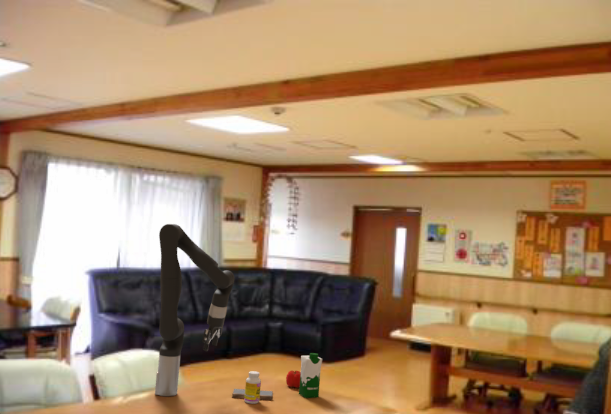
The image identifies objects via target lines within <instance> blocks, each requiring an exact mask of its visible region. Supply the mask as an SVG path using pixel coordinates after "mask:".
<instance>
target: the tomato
mask: <svg viewBox="0 0 611 414" xmlns="http://www.w3.org/2000/svg"><path fill="white" fill-rule="evenodd" d="M300 375H301V370H289V371H288V373H287V374H286V377H285V383H286V385H287V386H288V387H289V388H295V389H297V388H299V387H300Z"/></svg>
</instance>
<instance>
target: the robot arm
mask: <svg viewBox="0 0 611 414" xmlns="http://www.w3.org/2000/svg"><path fill="white" fill-rule="evenodd" d="M158 236H159V237H158V238H159V245H160V246H159V247H160V304H161V305H160V316H159V317H160V318H159V327H158V328H159V329H158V330H159V335H160V337H161V338H162V344H161V346H160V347H159V354H158V367H157V372H156V377H155V387H154V388H155V389H154V395H157V396H161V397H174V396H176V395H177V394H178V389H179V388H178V387H179V377H180V376H179V374H180V365H181V353H182V352H181V351H182V349H183V345H184V336H185V323H184V322H183V320H182V319H180V318H179V317H178V307H179V302H180V298H181V294H182V287H183V286H182V283H183V281H182V279H183V278H182V277H183V275H182V270H181V266H180V265H181V264H180V262H179V258H178V257H179V256H178V249H180V250H181V251H182V252H183V253H185V254H186V255H187V257H188V258H189V259H190V260H191V261H192V263H194V265H195V266H196V267H197V268H198V269H199V270H201V271H202V272H203V273H204V274H205V275H207V277H208V279H209V280H210V281H211V282H212V283H213V285H215V286H216V290H215V291H214V293H213V295H212V299H211V304H210V307H209V310H208V315H207V319H206V320H207V321H206V323H207V325H208V328H205V329H204V331H203V335H202V340H201V343H204V344H203V348H202V351H205V352H208V351H209V346H210V342H211V345H212V346H215V347H217V346H218V341H219V339H220V337H221V336H222V334H223V330H224V324H225V320H226V315H227V311H228V304H229V297H230V295H231V292H232V291H233V287H234V284H235V275H234V273H233V272H232V271H231V270H227V269H226V270H222V269H221V268H220V267H219V263H218V262H217V261H216V260H215V259H214V258H213V257H212V256H210V255H209V254H208V253H207V252H206V251H204V250H203V249H202V248H201V247H199V246H198V245H197V244H196V242H195V241H193V240H192V239H191V238H190V237H189V236H188V234H187V233H186V232H185V230H184V229H183V228H182V227H181V226H180V225H179V224H176V223H166V224H164V225H163V226H162V227H160V230H159V235H158ZM211 340H212V341H211Z"/></svg>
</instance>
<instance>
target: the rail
mask: <svg viewBox="0 0 611 414" xmlns="http://www.w3.org/2000/svg"><path fill="white" fill-rule="evenodd" d="M231 394H232V395H231V398H232V399H233V398H234V399H236V398H237V399H244V398H245V394H241V393H233V392H232V393H231ZM259 400H263V401H273V395H272V396H271V395H260V399H259Z"/></svg>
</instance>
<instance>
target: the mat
mask: <svg viewBox="0 0 611 414" xmlns="http://www.w3.org/2000/svg"><path fill="white" fill-rule="evenodd" d="M232 393H241V394H245V388H244V389H243V388H233V391H232ZM260 395H271V396H272V397H273V391H272V390H261V389H260Z"/></svg>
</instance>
